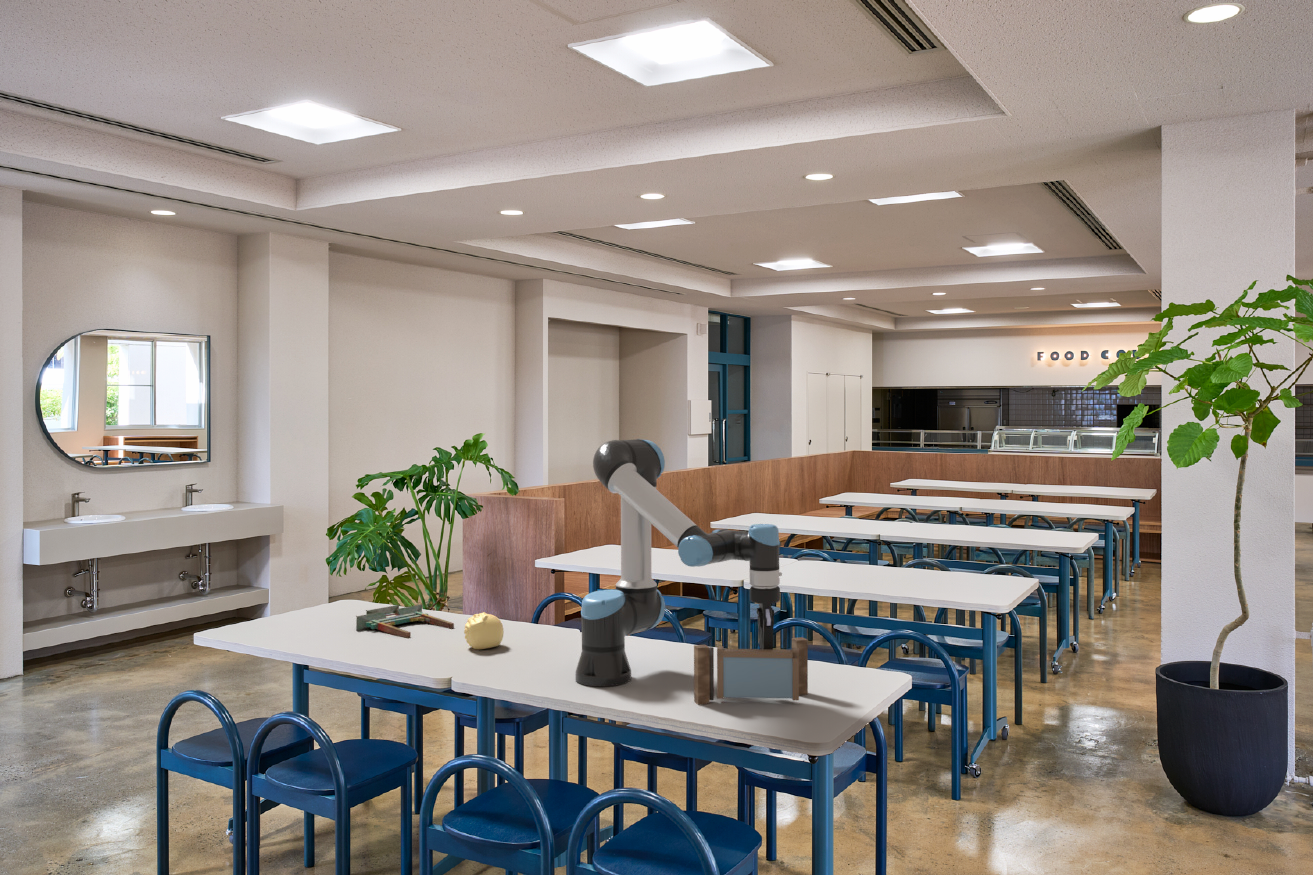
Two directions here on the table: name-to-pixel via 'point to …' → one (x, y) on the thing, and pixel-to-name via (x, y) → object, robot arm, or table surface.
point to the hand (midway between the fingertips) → (766, 678)
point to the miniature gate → (397, 619)
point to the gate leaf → (757, 673)
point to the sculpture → (483, 631)
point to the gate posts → (706, 670)
